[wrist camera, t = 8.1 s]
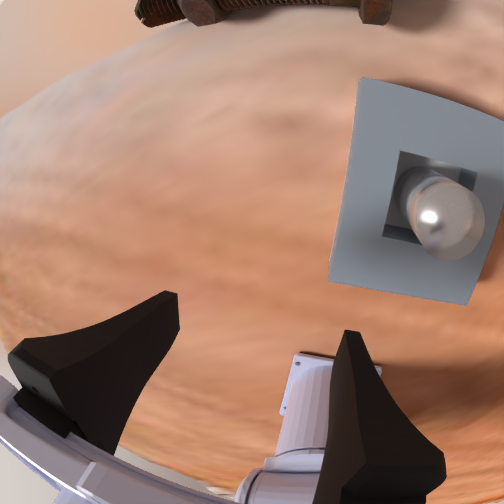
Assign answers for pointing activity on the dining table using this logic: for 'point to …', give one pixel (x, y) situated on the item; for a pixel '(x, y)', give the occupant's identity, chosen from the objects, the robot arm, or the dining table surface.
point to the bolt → (221, 3)
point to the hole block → (383, 183)
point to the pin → (440, 212)
